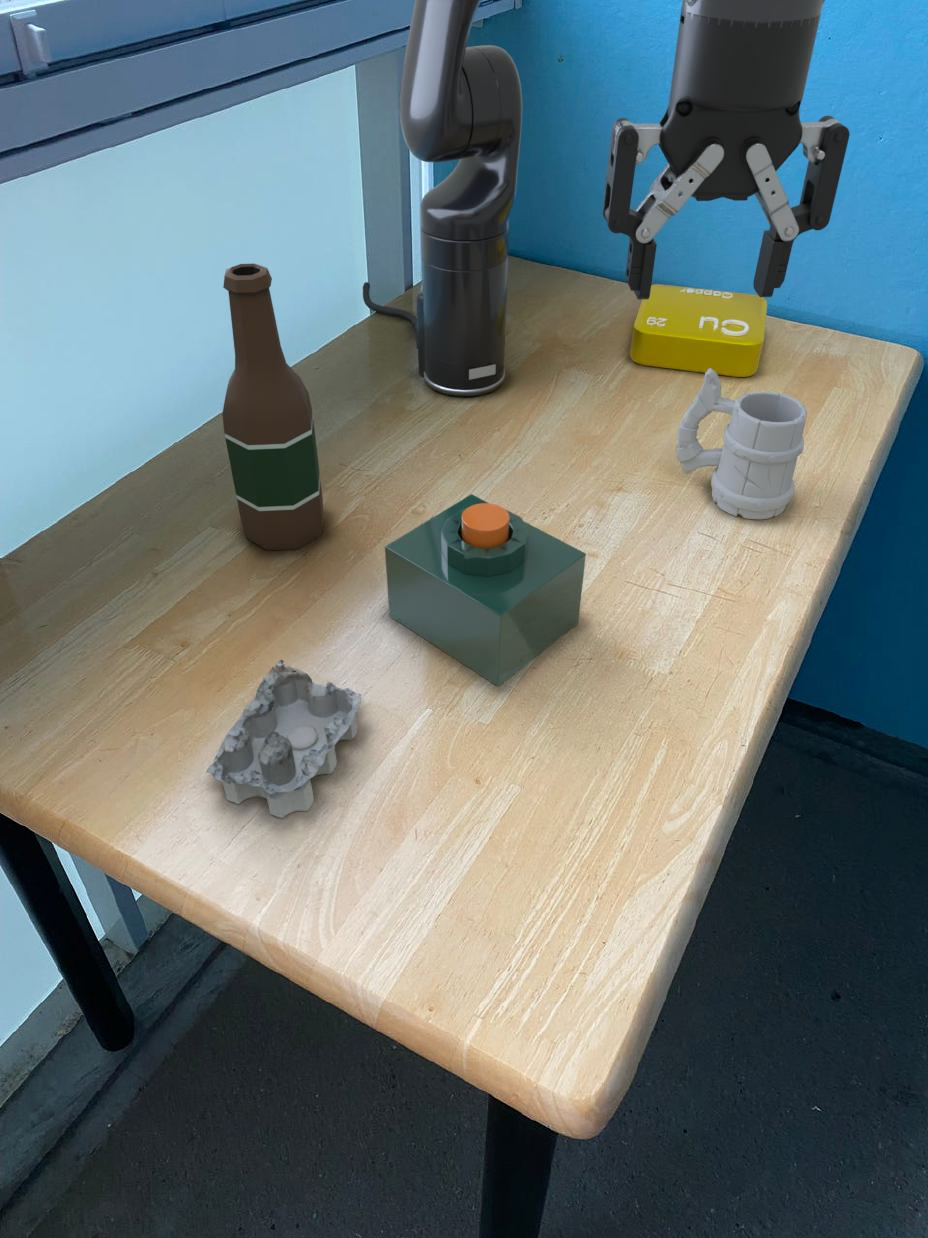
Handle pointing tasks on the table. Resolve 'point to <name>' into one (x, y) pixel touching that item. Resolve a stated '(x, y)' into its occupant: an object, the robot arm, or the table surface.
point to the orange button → (485, 525)
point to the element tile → (700, 330)
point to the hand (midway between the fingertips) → (701, 293)
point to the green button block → (484, 591)
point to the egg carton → (285, 740)
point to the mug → (746, 448)
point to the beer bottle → (268, 424)
